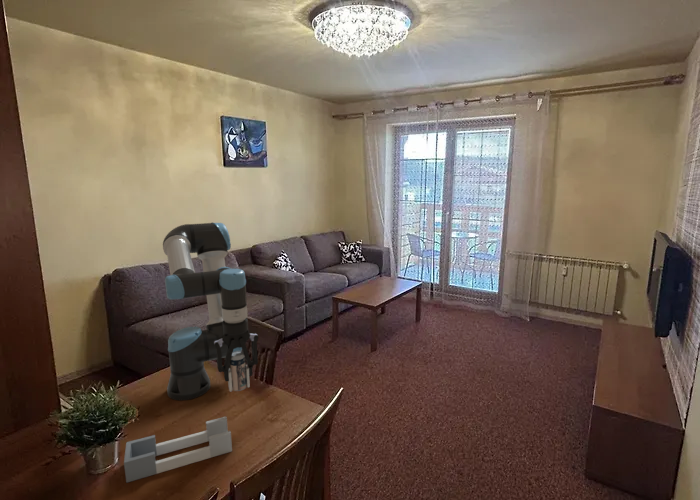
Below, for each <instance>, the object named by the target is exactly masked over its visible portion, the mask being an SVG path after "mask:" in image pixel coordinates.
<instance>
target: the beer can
mask: <svg viewBox="0 0 700 500" xmlns="http://www.w3.org/2000/svg"><path fill="white" fill-rule="evenodd" d="M246 365H247V362H246V359H245V355H244V353H243V350H241V351H235V352H232V357H231V362H230V367H229V368H230V370H231V377H232V391H234V392H241V391H244V390H246V388H248V387H247V379H246Z"/></svg>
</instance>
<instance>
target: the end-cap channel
mask: <svg viewBox="0 0 700 500" xmlns="http://www.w3.org/2000/svg"><path fill="white" fill-rule="evenodd" d="M205 425H206V426H205V427H206V430H203V431H200V432H196V433H192V434H188V435H185V436H181V437H178V438H173V439H170V440H166V441H162V442H158V443H156V442H157V441H156V435H155V434H152V435H149V436H145V437H142V438H138V439H134V440H129V441H127V442H126V444H125V450H124V451H125V452H124V457H123V458H124V460H123V468H124V474H125V482H126V484H127V483H130V482H131V483H132V482H134V481H137V480H141V479H143V478H147V477H150V476H153V475H158V474H160V473H163V472H167V471H170V470H174V469H177V468H180V467H184V466H187V465H190V464H193V463H197V462H201V461H204V460H207V459H211V458H213V457H217V456H222V455H225V454H227V453H231V452H233V445H232V444H233V443H232V432H231V430H228V418H227V416H223V417H218V418H215V419H211V420H207V421H205ZM207 442H208V443H209V444H208V446H204V447H200V448H197V449H194V450H191V451H187V452H183V453H180V454H177V455H173V456H169V457H166V458H162V459H159V460H158V459H157V460H156V457H157V456H161V455H165V454H168V453H173V452H175V451H179V450H182V449H185V448H190V447H193V446H197V445H200V444H203V443H207Z"/></svg>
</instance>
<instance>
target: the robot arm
mask: <svg viewBox="0 0 700 500" xmlns="http://www.w3.org/2000/svg"><path fill="white" fill-rule="evenodd" d="M231 243H232V242H231V237H230V234H229V231H228V228H227V226H226V225H225V223H223V222H208V223H207V222H205V223H190V224H189V223H186V224H182V225H178V226H176V227H175V228H172V230H170V231H169V232H168V233H167V234H166V235H165V237H164V238H163V242H162V249H163V252H164V254H165V255H166V256H167V263H168V268H169V275H167V276H165V278H164V285H165V292H166V293H165V294H166V298H167V299H168V300H183V299H189V298H190V299H191V298H196V297H202V296H203V297H204V296H206V303H207V309H208V310H207V311H208V319H209V320H208V321H207V323H206V324H205V327H206V329H201V327H199V326H187V327H184V328H181V329H179V330H178V329H177V330H176V331H175V332H173V333H172V334H171V335H170V336H169V337H168V340H167V344H168V345H167V346H168V347H167V351H168V359H169V369H170V370H169V371H170V376H169V380H168V383H167V388H166V390H167V396H168V398H170V399H172V400H173V401H188V400H193V399H197V398H199V397H200V396H203V395H204V394H206V393H207V392H208V391H209V390H210V388H211V379H210V377H209V374H208V372H207V371H206V369H205V362H209V361H215V360H216V364H217V370H218V373H222V372H223V373H224V374H223V376H224V377H223V378H224V381H225V383H227V384H228V390H229V393H230V392H233V390H232V377H231V370H230V362H231V357H232V352H235V351H242V352H243V353H244V355H245V362H246V379H247V387H246V388H250V387H251V386H250V383H251V382H250V377H252V376H253V368H254V367H253V366H256V365H258V363H259V362H258V340H259V335H258V334H257V333H256V332H254V333H250V331H249V322H248V321H249V319H248V302H247V279H246V273H245V271H244V270H243V269H240V268H232V267H229V266H226V260H225V258H226V257H227V255H228V254H229V253H228V251H229V250H230V249H231V245H232V244H231ZM191 254H196V255H197V256H196V257H197V258H198V259H199V260H201V261H202V271H200V272H196V270H195V267H194V263H193V259H192V255H191ZM248 340H250V341H251V357H252V359H251V358H250V355H249V354H250V353H249V351H248V348H247V345H246V343H247V342H248ZM223 359H225V360H224V364H223Z"/></svg>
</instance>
